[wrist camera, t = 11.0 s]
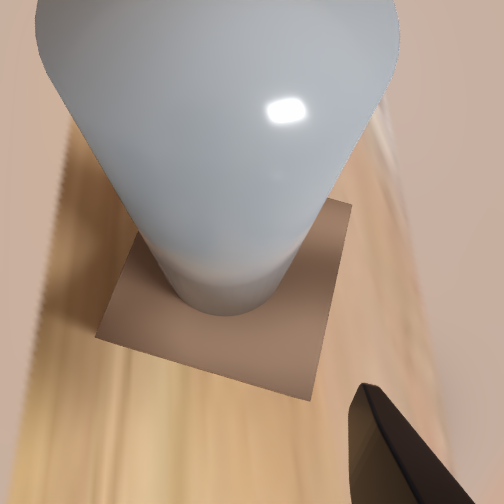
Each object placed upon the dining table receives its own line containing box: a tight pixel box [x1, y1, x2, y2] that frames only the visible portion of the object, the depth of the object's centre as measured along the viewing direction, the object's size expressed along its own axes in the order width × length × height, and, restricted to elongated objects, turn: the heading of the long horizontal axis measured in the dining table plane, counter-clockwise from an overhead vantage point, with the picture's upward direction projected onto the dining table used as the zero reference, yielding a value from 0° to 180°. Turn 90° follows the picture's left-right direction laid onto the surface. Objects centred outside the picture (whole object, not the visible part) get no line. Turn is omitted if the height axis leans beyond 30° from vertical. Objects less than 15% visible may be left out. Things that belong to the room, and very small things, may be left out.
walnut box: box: [95, 198, 352, 401], centre depth 20 cm, size 10×10×4 cm
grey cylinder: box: [35, 0, 400, 316], centre depth 12 cm, size 6×6×13 cm
